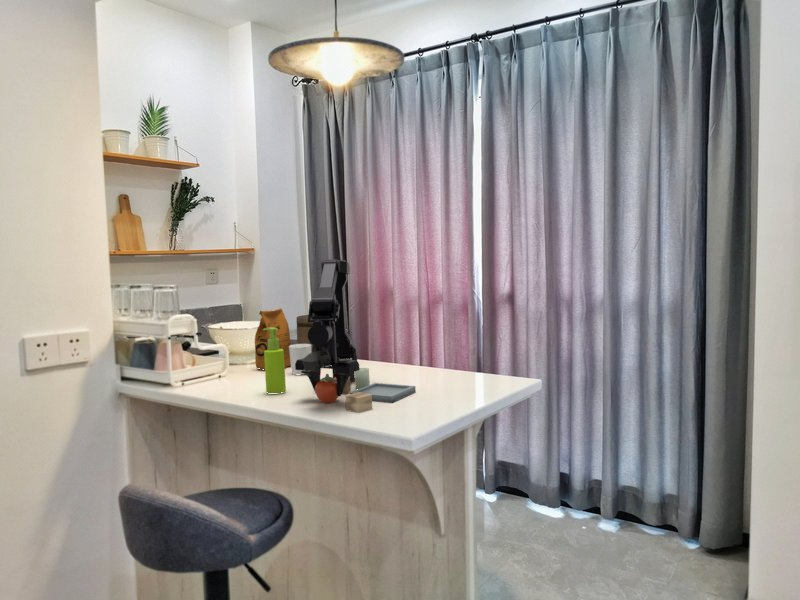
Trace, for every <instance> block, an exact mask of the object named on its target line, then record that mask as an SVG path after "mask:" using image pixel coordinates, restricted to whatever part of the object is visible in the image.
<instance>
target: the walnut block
mask: <svg viewBox="0 0 800 600" xmlns="http://www.w3.org/2000/svg"><path fill="white" fill-rule="evenodd" d="M332 378H333V377H332ZM333 379H334V380H336V381H337V379H336V377H335V378H333ZM351 386H352V385H351V382H350V377H349V378H348V380H347V382H346V384H345V387H344V389H343V392H342V394H341V395H349V394H350V392H352V389H351Z"/></svg>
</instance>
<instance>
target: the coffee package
mask: <svg viewBox="0 0 800 600" xmlns="http://www.w3.org/2000/svg"><path fill="white" fill-rule="evenodd" d="M259 316H261V318H260V321H259V324H258V327H257V328H256V332H255V336H254V350H255V351H254V352H255V367H256V369H257V368H260V369H264V371H265V359H264V351H265V350H268V339H269V338H270V330H263V329H264V328H270V327H274V328H278V330H277V331H276V338H278V339H279V349H283V350H284V366H285V367H287V366H289V367H291V363H290V354H289V346H290V345H292V344H291V335H290V333H291V332H290V327H289V323H288V320H287V318H286V316H285V313H284V311H283V309H282V308H277V309H275V310H259ZM287 368H288V367H287Z"/></svg>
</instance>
